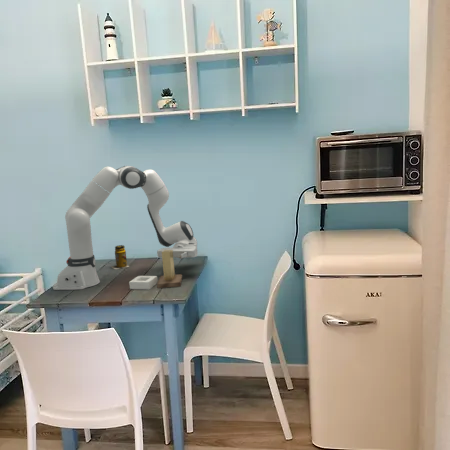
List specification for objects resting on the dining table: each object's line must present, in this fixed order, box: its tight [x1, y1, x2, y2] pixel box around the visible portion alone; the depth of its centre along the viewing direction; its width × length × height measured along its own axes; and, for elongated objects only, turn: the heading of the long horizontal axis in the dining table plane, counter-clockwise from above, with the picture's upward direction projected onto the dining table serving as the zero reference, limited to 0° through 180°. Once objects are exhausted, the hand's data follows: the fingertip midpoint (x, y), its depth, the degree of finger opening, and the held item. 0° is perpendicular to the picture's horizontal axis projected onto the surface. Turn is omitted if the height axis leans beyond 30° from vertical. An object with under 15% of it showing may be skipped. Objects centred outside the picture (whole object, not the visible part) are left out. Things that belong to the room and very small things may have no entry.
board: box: [156, 273, 183, 289], centre depth 229 cm, size 11×14×2 cm
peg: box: [161, 250, 176, 280], centre depth 227 cm, size 4×4×14 cm
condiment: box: [111, 244, 130, 270], centre depth 265 cm, size 7×8×12 cm
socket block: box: [128, 275, 158, 290], centre depth 226 cm, size 10×10×4 cm
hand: (171, 256), depth 231 cm, fingers open, 8 cm apart
